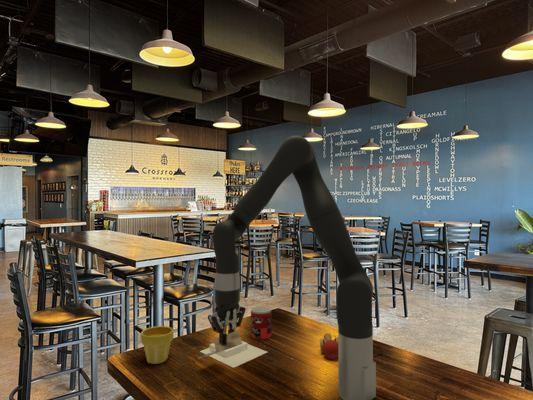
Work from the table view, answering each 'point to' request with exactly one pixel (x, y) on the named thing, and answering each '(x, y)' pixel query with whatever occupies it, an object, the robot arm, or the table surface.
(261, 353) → the mat
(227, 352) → the tile
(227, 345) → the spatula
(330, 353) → the kendama
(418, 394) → the table surface
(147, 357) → the plant pot
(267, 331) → the canned food
